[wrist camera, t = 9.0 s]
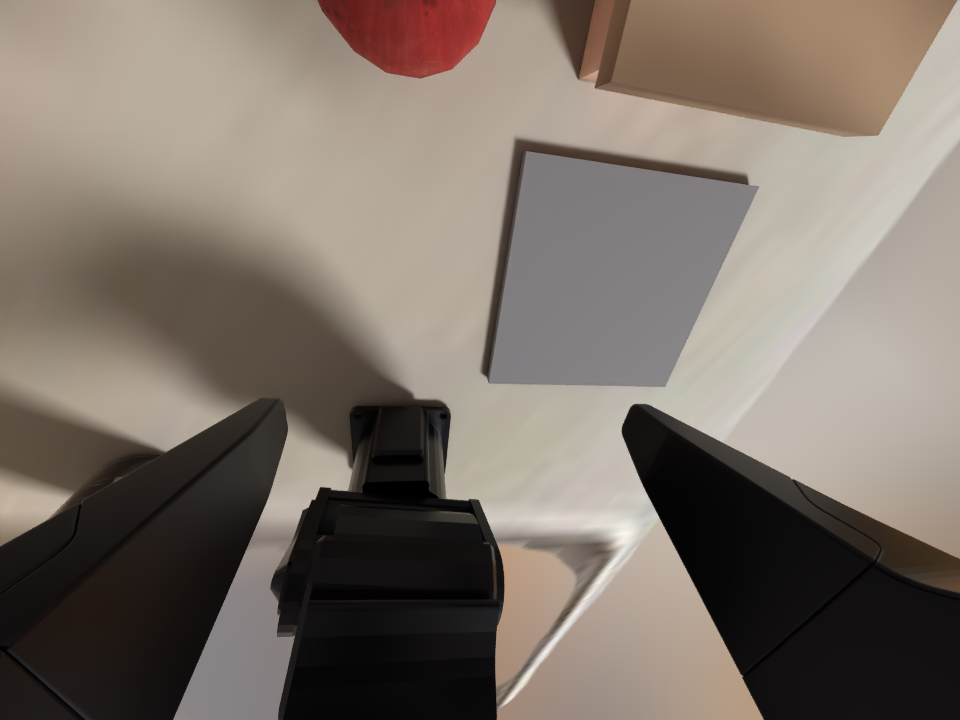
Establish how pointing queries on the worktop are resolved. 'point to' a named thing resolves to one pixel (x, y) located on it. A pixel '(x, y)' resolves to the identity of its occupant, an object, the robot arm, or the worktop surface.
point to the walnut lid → (773, 57)
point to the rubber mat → (608, 270)
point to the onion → (410, 31)
